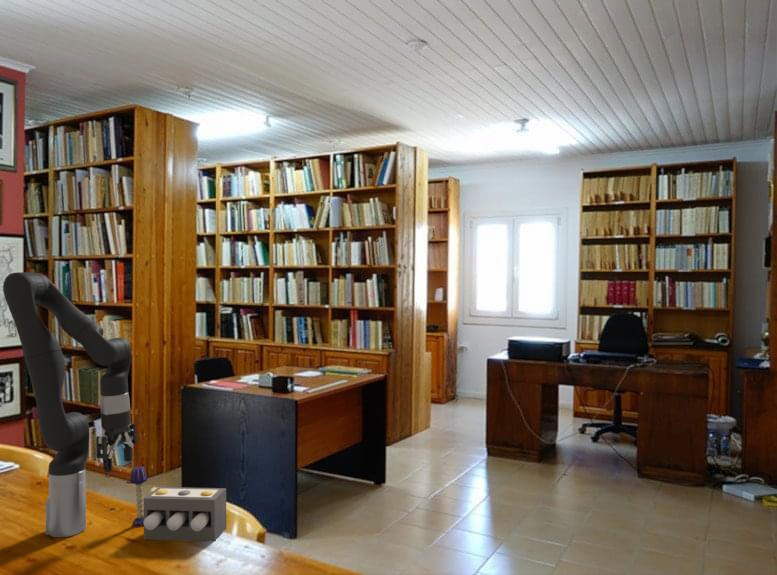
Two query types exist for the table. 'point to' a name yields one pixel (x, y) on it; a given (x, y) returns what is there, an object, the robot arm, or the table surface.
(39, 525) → the table surface
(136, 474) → the toy lamp
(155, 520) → the button left
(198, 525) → the button right
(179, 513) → the button middle
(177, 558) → the table surface
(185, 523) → the button box
